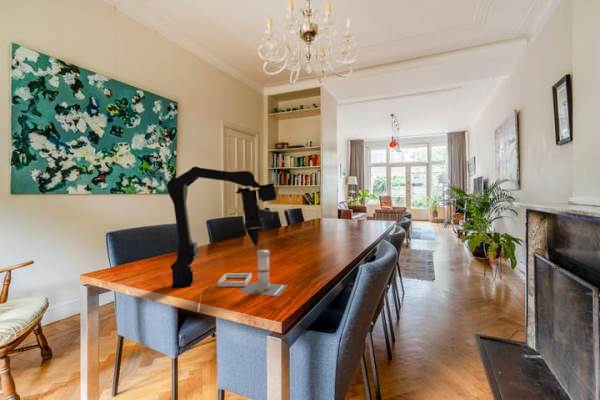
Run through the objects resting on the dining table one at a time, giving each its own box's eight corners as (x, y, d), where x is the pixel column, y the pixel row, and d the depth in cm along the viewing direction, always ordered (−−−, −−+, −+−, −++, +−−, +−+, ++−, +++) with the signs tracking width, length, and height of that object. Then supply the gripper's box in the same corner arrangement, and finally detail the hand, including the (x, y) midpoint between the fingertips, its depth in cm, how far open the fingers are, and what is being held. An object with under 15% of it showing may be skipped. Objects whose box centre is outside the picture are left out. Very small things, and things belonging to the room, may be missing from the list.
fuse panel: (238, 295, 90) (238, 289, 90) (251, 285, 100) (251, 279, 100) (278, 298, 87) (278, 292, 87) (287, 288, 96) (287, 282, 96)
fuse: (258, 291, 91) (257, 252, 90) (257, 287, 95) (256, 250, 94) (271, 290, 92) (270, 251, 91) (268, 285, 96) (268, 249, 95)
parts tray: (217, 289, 96) (217, 282, 96) (226, 279, 107) (225, 273, 106) (245, 288, 96) (245, 281, 96) (251, 279, 106) (251, 273, 106)
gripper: (273, 201, 98) (278, 244, 99) (268, 200, 116) (273, 236, 117) (241, 206, 96) (248, 249, 97) (242, 203, 114) (247, 240, 115)
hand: (255, 243), depth 107 cm, fingers open, 9 cm apart
